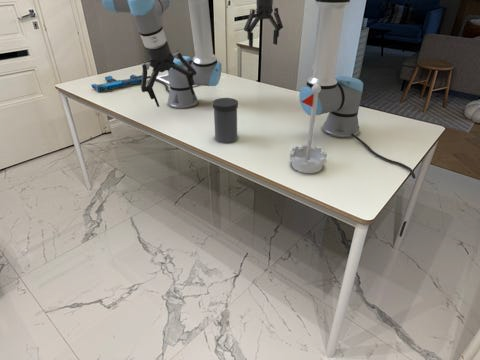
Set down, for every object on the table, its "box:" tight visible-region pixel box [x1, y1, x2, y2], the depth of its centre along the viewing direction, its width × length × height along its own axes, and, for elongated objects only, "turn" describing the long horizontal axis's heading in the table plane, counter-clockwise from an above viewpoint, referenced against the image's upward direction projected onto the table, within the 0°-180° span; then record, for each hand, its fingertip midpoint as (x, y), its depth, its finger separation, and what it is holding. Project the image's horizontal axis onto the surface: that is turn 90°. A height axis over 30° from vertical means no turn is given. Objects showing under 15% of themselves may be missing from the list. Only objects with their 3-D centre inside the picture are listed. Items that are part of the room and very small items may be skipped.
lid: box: [212, 97, 239, 112], centre depth 136 cm, size 10×10×2 cm
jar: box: [213, 108, 238, 144], centre depth 140 cm, size 9×9×16 cm
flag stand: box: [289, 84, 328, 174], centre depth 116 cm, size 13×13×30 cm
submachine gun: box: [90, 74, 151, 92], centre depth 206 cm, size 34×4×25 cm
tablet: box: [156, 73, 200, 88], centre depth 212 cm, size 32×20×1 cm, turn 41°
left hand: (175, 99), depth 126 cm, fingers open, 13 cm apart
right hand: (263, 45), depth 167 cm, fingers open, 13 cm apart
